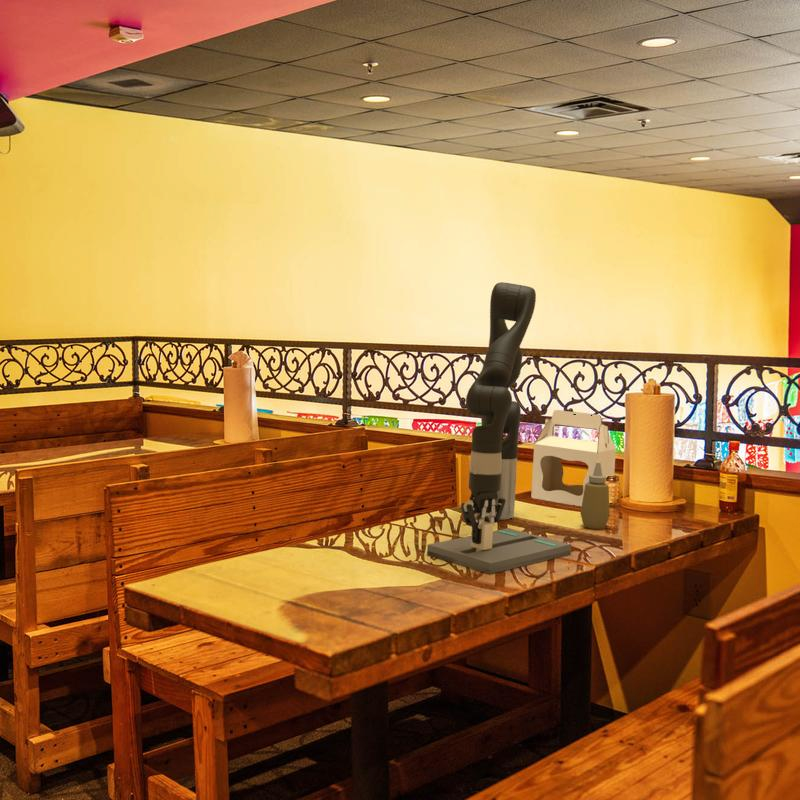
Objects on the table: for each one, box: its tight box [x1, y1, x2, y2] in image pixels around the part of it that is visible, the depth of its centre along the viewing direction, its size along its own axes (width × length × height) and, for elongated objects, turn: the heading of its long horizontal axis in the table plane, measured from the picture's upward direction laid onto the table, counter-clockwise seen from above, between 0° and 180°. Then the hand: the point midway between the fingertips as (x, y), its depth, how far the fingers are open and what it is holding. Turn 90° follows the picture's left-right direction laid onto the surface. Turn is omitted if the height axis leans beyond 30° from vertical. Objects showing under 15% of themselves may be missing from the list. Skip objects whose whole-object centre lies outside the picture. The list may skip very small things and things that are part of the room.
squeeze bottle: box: [580, 463, 611, 530], centre depth 269 cm, size 8×8×18 cm
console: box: [426, 527, 572, 575], centre depth 236 cm, size 20×30×3 cm, turn 134°
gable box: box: [530, 409, 617, 508], centre depth 304 cm, size 22×13×28 cm, turn 53°
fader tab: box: [470, 520, 494, 552], centre depth 230 cm, size 4×3×7 cm
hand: (481, 541), depth 230 cm, fingers closed on fader tab, 3 cm apart
